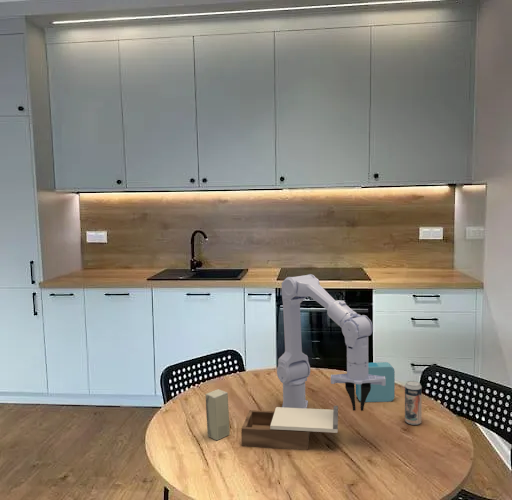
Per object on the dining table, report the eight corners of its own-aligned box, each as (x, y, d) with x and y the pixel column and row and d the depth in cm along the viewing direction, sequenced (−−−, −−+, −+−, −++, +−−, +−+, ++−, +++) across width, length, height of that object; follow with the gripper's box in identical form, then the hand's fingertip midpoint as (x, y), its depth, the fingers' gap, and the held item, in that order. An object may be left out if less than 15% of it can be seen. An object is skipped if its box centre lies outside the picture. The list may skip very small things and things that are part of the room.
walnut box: (250, 426, 144) (249, 410, 144) (310, 429, 141) (310, 412, 141) (242, 446, 132) (241, 428, 132) (307, 450, 129) (307, 432, 129)
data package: (390, 396, 163) (390, 361, 162) (394, 401, 159) (394, 366, 158) (355, 397, 163) (355, 362, 162) (358, 402, 159) (358, 367, 158)
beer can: (401, 422, 144) (401, 383, 142) (409, 417, 147) (409, 379, 146) (417, 427, 140) (417, 387, 139) (424, 421, 144) (424, 382, 143)
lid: (276, 410, 142) (275, 403, 142) (337, 413, 139) (337, 405, 139) (270, 429, 130) (270, 421, 130) (337, 432, 127) (337, 424, 127)
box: (220, 430, 142) (218, 388, 141) (230, 435, 139) (228, 392, 138) (206, 436, 138) (204, 393, 137) (216, 441, 135) (214, 397, 134)
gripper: (330, 365, 128) (330, 414, 129) (386, 366, 125) (386, 416, 127) (330, 356, 135) (331, 403, 136) (384, 358, 132) (384, 405, 134)
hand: (358, 409), depth 132 cm, fingers closed
